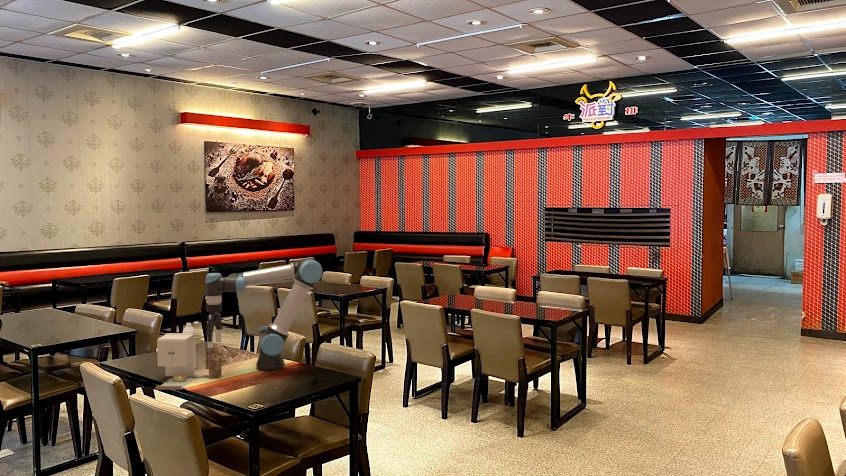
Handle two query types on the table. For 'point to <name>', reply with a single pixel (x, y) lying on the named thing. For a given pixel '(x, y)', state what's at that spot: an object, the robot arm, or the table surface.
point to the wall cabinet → (176, 353)
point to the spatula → (211, 369)
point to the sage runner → (174, 384)
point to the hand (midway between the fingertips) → (214, 345)
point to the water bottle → (190, 330)
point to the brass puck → (179, 378)
